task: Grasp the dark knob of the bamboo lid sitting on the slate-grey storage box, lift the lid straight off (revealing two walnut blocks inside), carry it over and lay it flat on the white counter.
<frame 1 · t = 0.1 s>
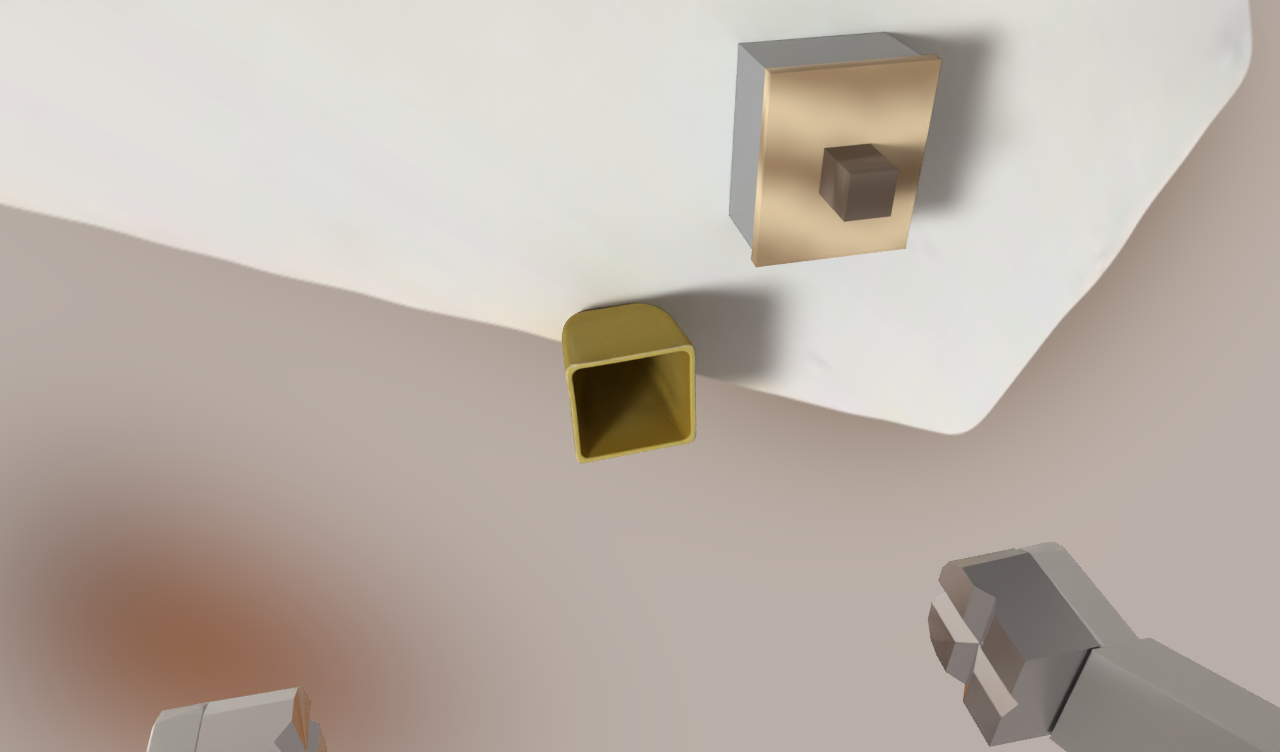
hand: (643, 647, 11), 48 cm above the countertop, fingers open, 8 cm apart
flower pot: (609, 333, 67), on the countertop
box: (803, 127, 60), on the countertop
lid: (837, 162, 56), point 6 cm above the countertop, touching box
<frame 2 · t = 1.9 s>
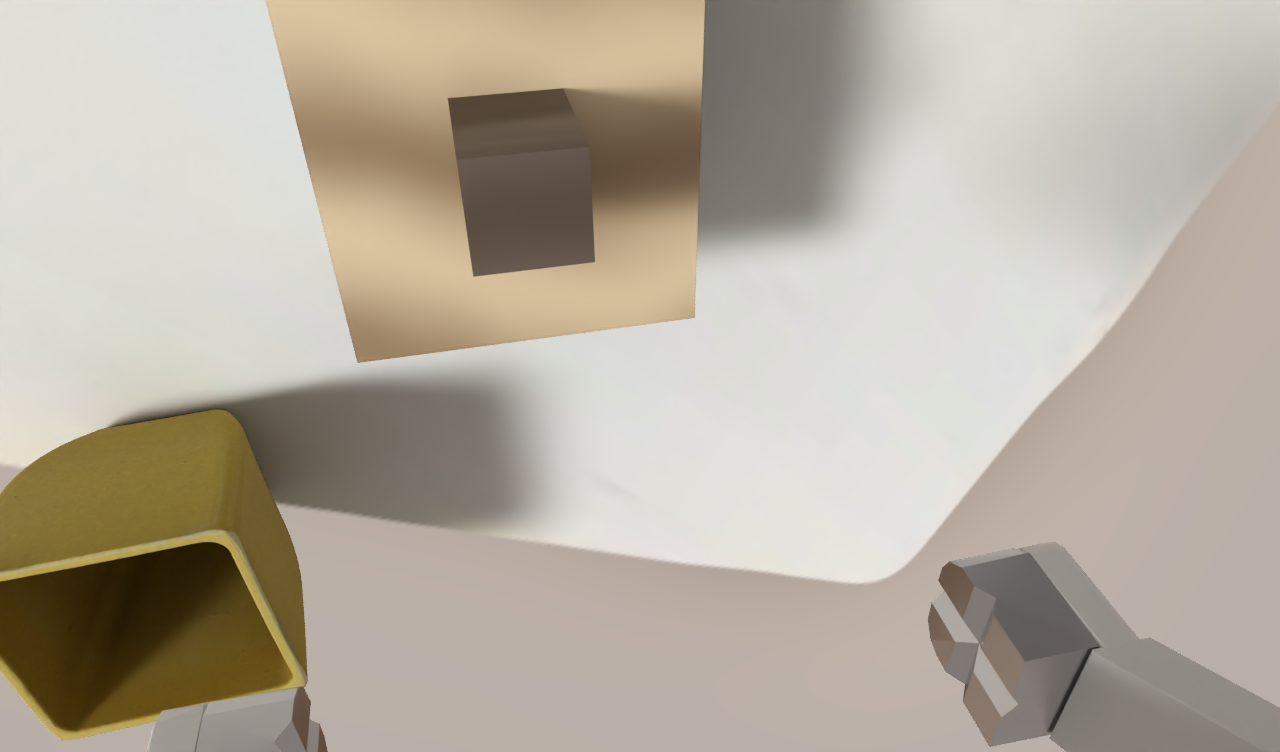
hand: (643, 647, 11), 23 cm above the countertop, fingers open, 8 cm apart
flower pot: (188, 460, 36), on the countertop
lid: (508, 134, 25), point 6 cm above the countertop, touching box
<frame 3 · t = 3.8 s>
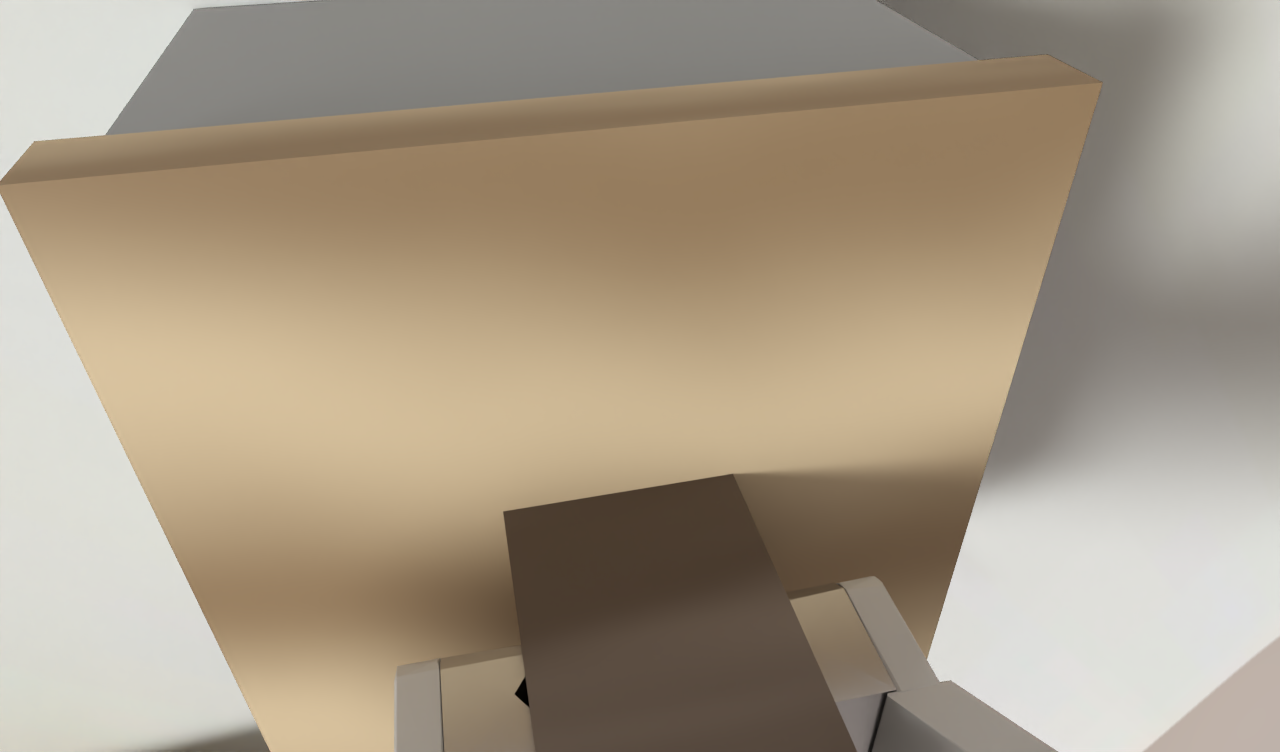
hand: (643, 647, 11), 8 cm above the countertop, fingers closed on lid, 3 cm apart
box: (552, 306, 18), on the countertop
lid: (609, 518, 13), point 6 cm above the countertop, touching box, gripper
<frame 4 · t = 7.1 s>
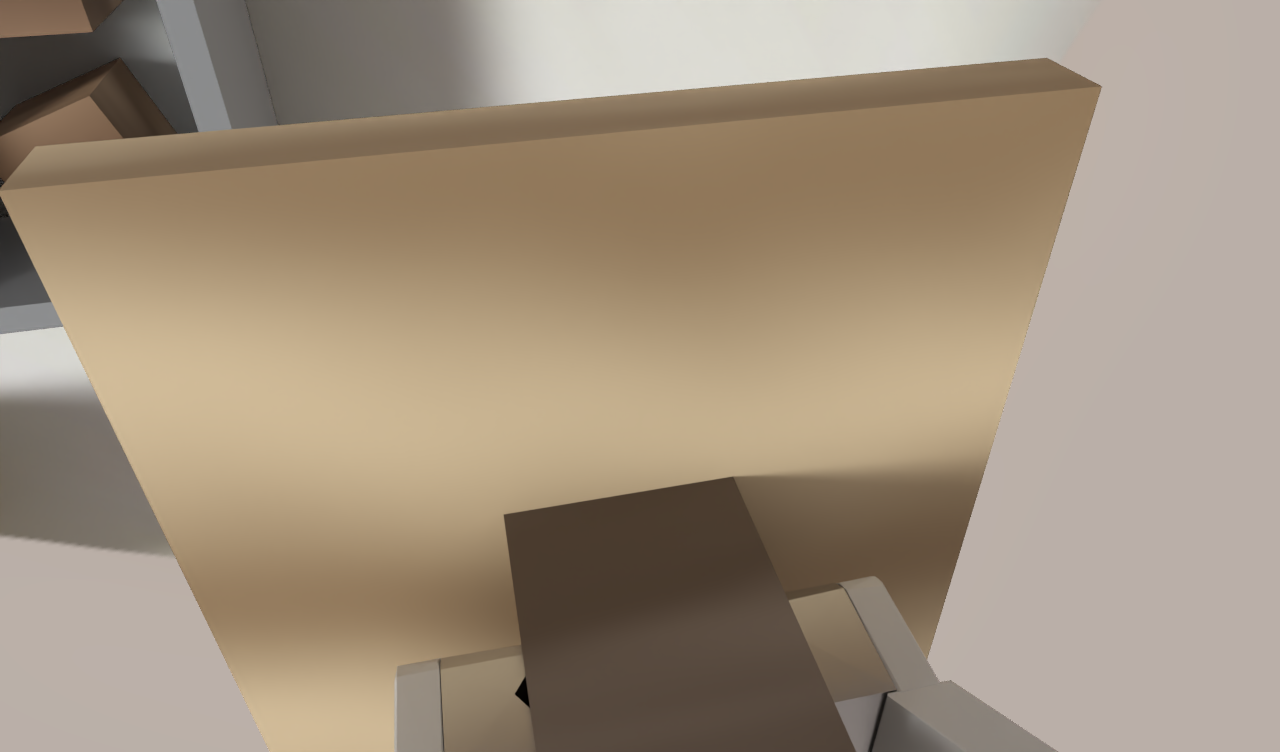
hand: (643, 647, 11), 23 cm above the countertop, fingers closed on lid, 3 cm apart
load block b: (109, 131, 27), resting in box
box: (73, 41, 26), on the countertop
lid: (609, 521, 13), point 20 cm above the countertop, touching gripper
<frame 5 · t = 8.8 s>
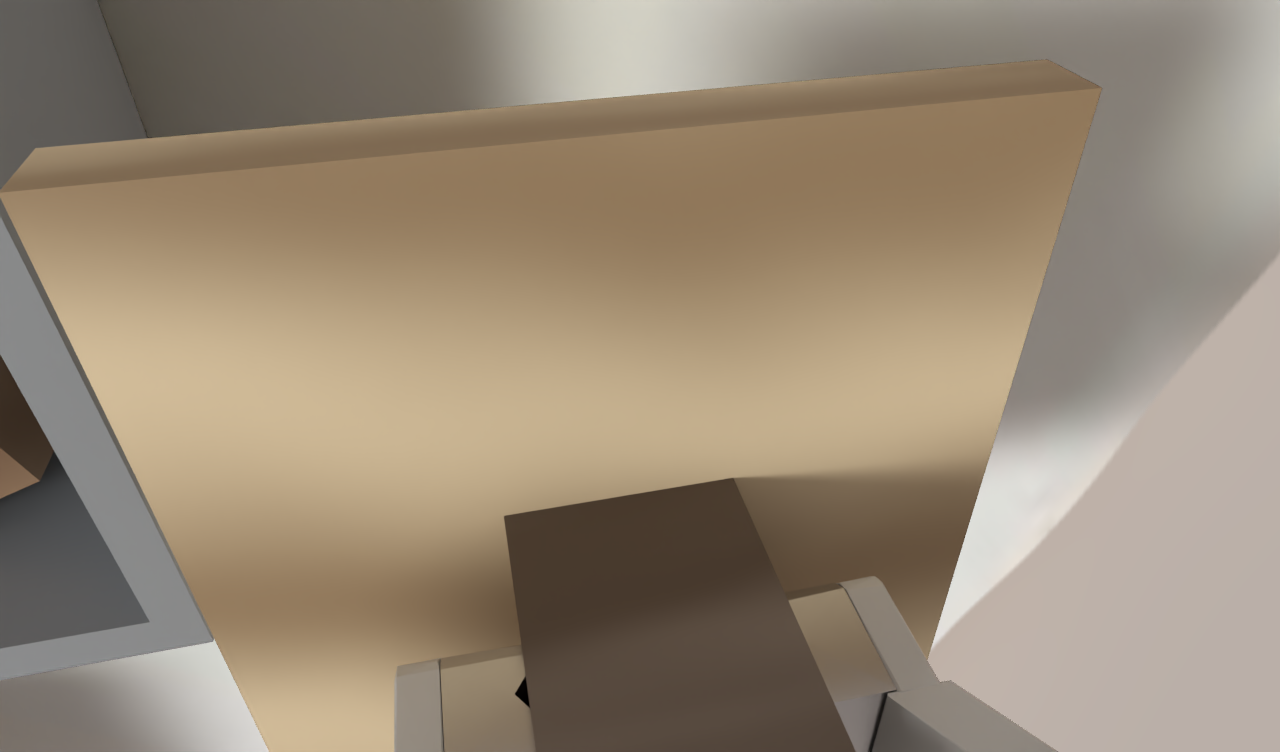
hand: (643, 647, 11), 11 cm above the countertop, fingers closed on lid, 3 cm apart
lid: (609, 522, 13), point 8 cm above the countertop, touching gripper
when the fingers open (5 cm above the countertop, at t = 10.1 s): lid drops 1 cm, point 1 cm above the countertop.
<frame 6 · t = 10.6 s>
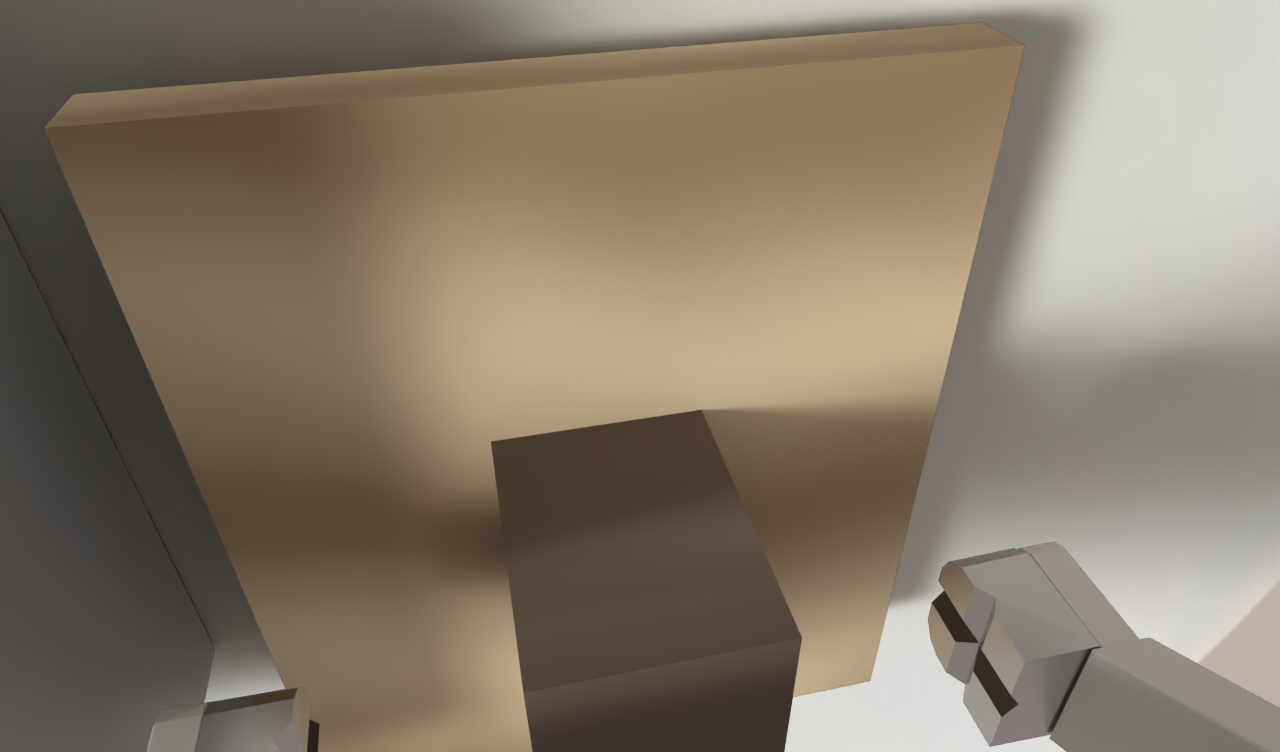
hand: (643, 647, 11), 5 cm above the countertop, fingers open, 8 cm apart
lid: (590, 458, 14), point 1 cm above the countertop
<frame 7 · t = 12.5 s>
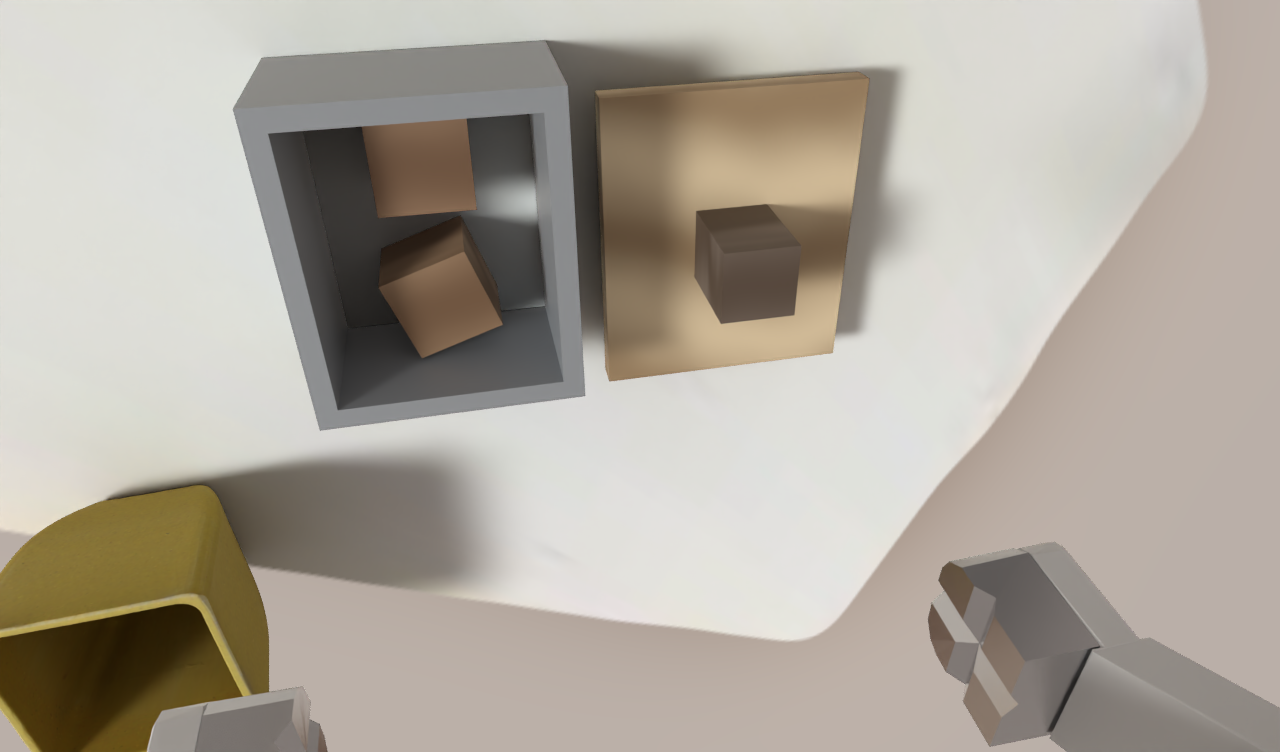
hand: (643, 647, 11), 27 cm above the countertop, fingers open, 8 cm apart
flower pot: (174, 528, 41), on the countertop
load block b: (440, 266, 37), resting in box
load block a: (420, 134, 34), resting in box
box: (431, 204, 35), on the countertop
lid: (723, 231, 37), point 1 cm above the countertop
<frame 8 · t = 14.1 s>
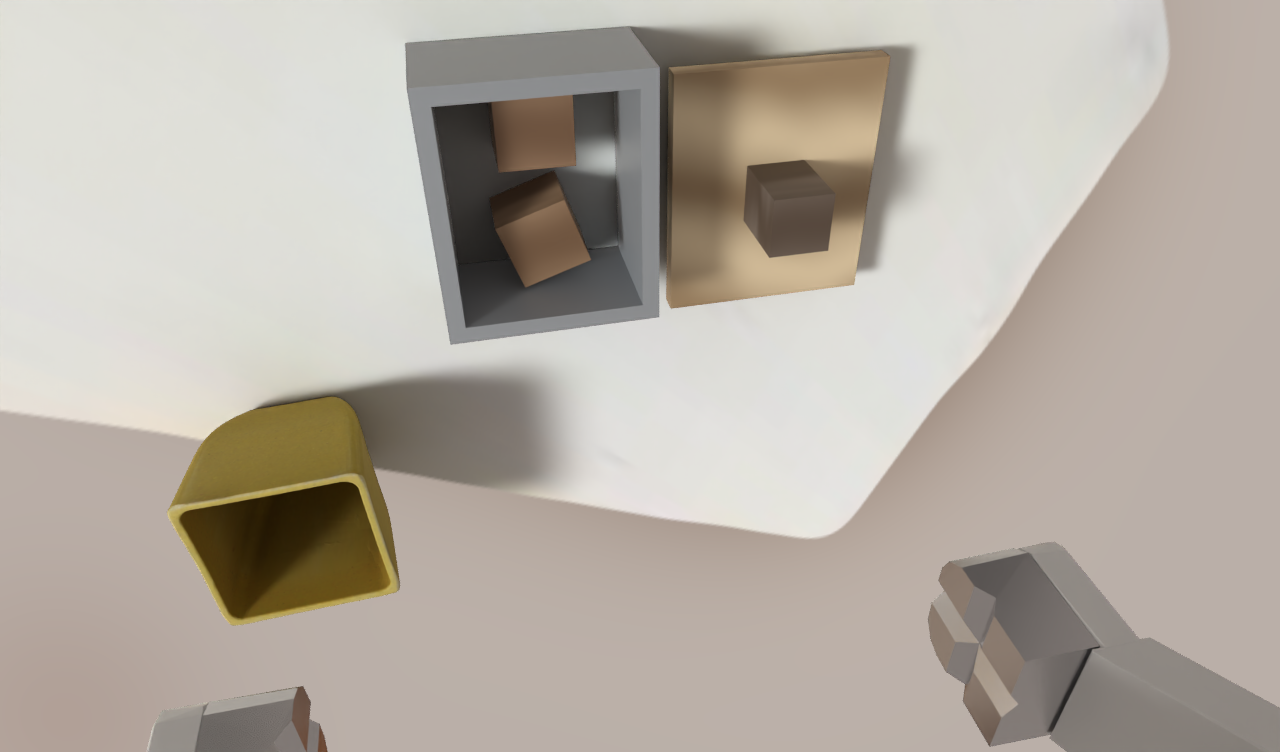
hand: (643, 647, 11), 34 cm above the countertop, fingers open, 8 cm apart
flower pot: (306, 434, 50), on the countertop
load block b: (535, 212, 45), resting in box
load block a: (525, 104, 41), resting in box
box: (531, 161, 43), on the countertop
lid: (766, 182, 45), point 1 cm above the countertop
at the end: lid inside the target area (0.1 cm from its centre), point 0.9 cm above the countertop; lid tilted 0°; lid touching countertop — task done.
